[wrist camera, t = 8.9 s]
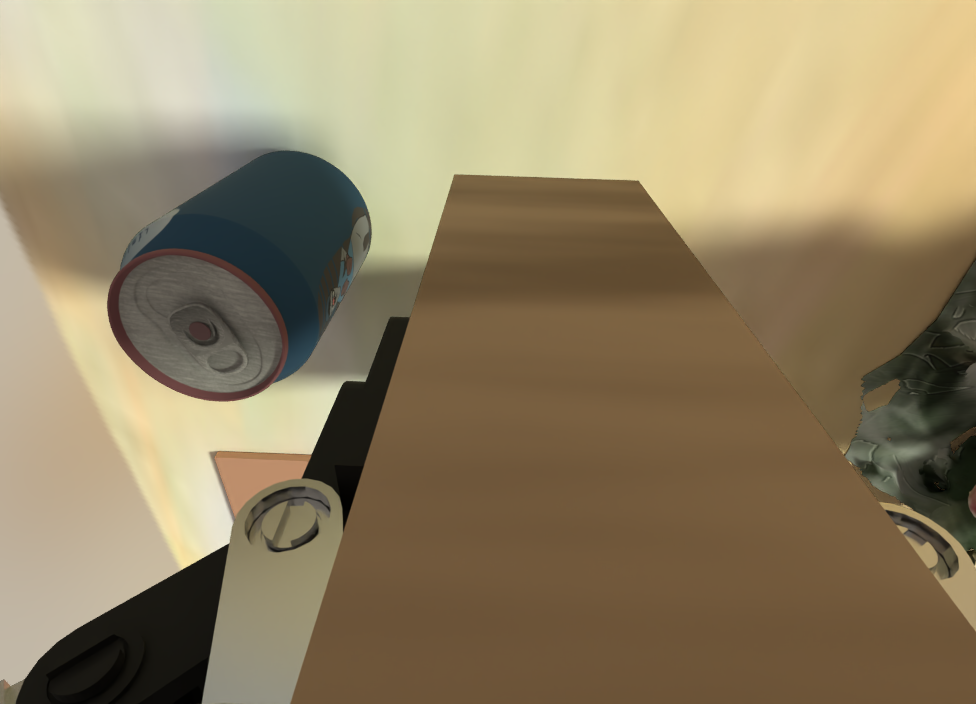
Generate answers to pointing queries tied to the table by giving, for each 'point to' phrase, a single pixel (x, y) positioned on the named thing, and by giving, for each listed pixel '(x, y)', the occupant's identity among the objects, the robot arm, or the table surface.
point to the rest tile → (256, 473)
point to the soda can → (241, 277)
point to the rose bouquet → (928, 422)
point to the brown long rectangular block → (610, 492)
